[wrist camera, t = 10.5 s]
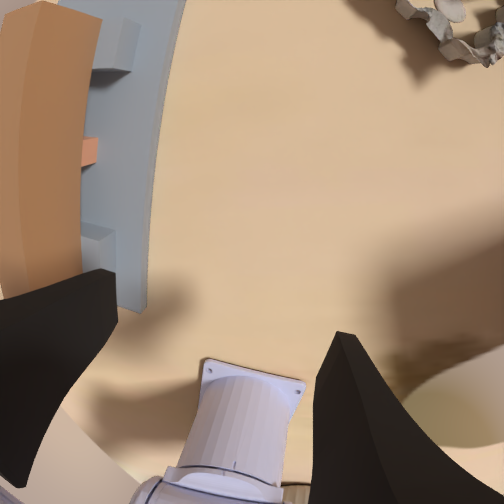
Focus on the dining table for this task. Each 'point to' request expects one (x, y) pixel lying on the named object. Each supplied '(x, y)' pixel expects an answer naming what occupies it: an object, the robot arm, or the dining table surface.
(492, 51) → the stone castle ruin
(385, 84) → the dining table surface
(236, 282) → the dining table surface
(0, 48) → the brown bar
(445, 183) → the dining table surface
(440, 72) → the dining table surface
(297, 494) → the canister
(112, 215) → the display stand
